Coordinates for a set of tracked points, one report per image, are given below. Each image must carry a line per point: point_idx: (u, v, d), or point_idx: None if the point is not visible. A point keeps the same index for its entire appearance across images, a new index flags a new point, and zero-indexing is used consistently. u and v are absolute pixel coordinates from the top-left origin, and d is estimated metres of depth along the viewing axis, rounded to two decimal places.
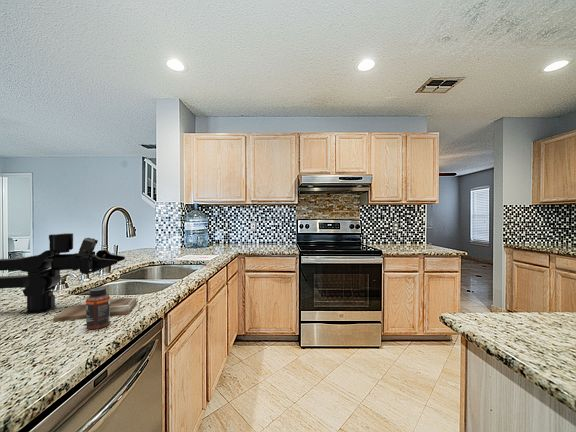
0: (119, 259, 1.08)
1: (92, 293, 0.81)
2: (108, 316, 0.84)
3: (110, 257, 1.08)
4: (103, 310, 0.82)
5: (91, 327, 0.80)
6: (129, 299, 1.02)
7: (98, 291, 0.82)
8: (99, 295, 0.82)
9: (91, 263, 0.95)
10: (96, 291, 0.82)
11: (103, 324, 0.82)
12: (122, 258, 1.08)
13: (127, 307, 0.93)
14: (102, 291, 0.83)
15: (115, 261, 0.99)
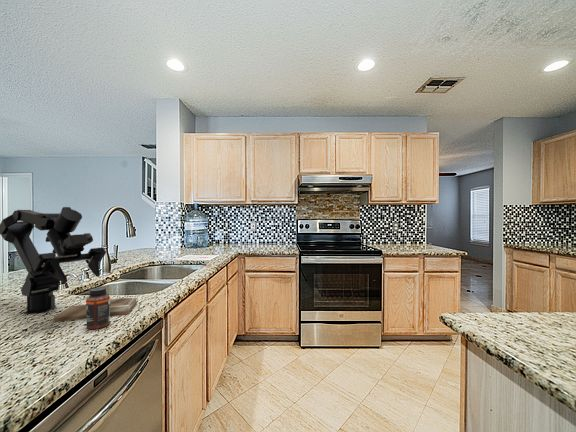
0: (94, 272, 0.91)
1: (92, 293, 0.81)
2: (108, 316, 0.84)
3: (93, 263, 0.92)
4: (103, 310, 0.82)
5: (91, 327, 0.80)
6: (129, 299, 1.02)
7: (98, 291, 0.82)
8: (99, 295, 0.82)
9: (43, 266, 0.81)
10: (96, 291, 0.82)
11: (103, 324, 0.82)
12: (96, 274, 0.91)
13: (127, 307, 0.93)
14: (102, 291, 0.83)
15: (64, 280, 0.82)
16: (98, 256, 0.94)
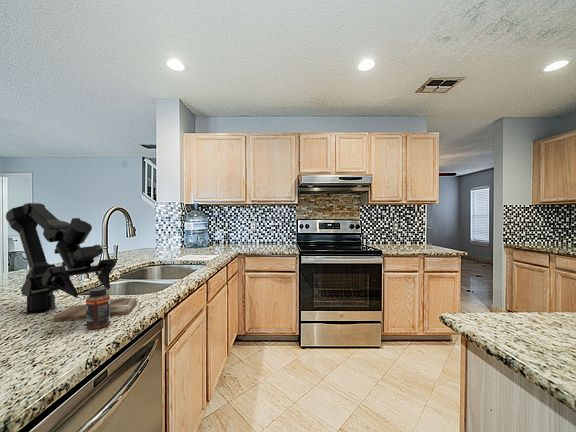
0: (105, 285, 0.89)
1: (92, 293, 0.81)
2: (108, 316, 0.84)
3: (103, 275, 0.90)
4: (103, 310, 0.82)
5: (91, 327, 0.80)
6: (129, 299, 1.02)
7: (98, 291, 0.82)
8: (99, 295, 0.82)
9: (53, 280, 0.79)
10: (96, 291, 0.82)
11: (103, 324, 0.82)
12: (107, 287, 0.89)
13: (127, 307, 0.93)
14: (102, 291, 0.83)
15: (75, 294, 0.80)
16: (108, 268, 0.91)
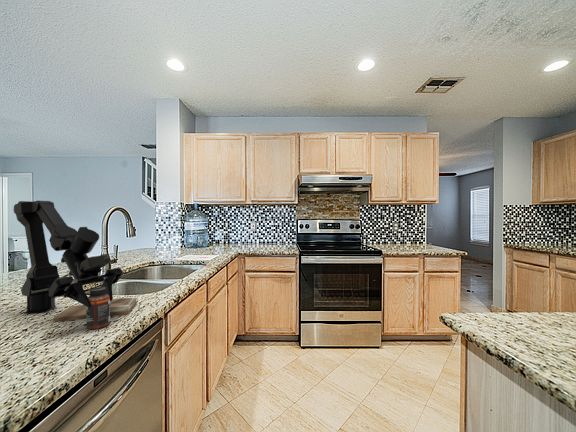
0: None
1: (92, 293, 0.81)
2: (108, 316, 0.84)
3: (105, 286, 0.87)
4: (103, 310, 0.82)
5: (91, 327, 0.80)
6: (129, 299, 1.02)
7: (98, 291, 0.82)
8: (99, 295, 0.82)
9: (67, 289, 0.79)
10: (96, 291, 0.82)
11: (103, 324, 0.82)
12: None
13: (127, 307, 0.93)
14: (102, 291, 0.83)
15: (88, 304, 0.80)
16: (111, 278, 0.88)
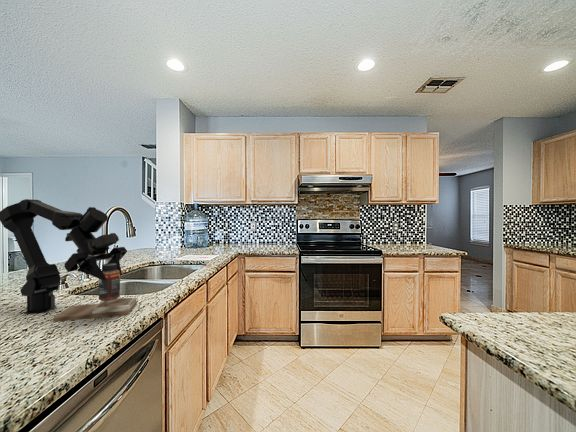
0: None
1: (105, 268, 0.88)
2: (119, 289, 0.91)
3: None
4: (116, 283, 0.89)
5: (105, 299, 0.87)
6: (129, 299, 1.02)
7: (111, 266, 0.89)
8: (112, 270, 0.89)
9: (82, 264, 0.85)
10: (109, 266, 0.89)
11: (116, 296, 0.89)
12: None
13: (127, 307, 0.93)
14: (114, 266, 0.90)
15: (103, 278, 0.87)
16: (118, 256, 0.95)
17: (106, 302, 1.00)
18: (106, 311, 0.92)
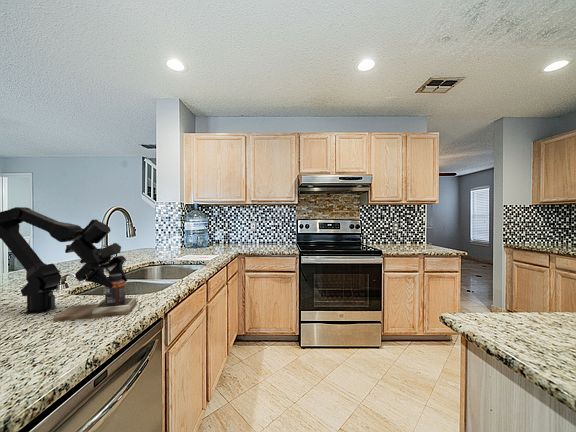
0: None
1: (113, 278, 0.95)
2: (124, 297, 0.98)
3: (117, 270, 1.01)
4: (122, 292, 0.97)
5: None
6: (129, 299, 1.02)
7: (118, 276, 0.96)
8: (119, 280, 0.96)
9: (91, 274, 0.90)
10: (116, 276, 0.96)
11: (122, 304, 0.97)
12: (124, 280, 1.01)
13: (127, 307, 0.93)
14: (120, 276, 0.97)
15: (111, 285, 0.93)
16: (121, 264, 1.02)
17: None
18: (106, 311, 0.92)
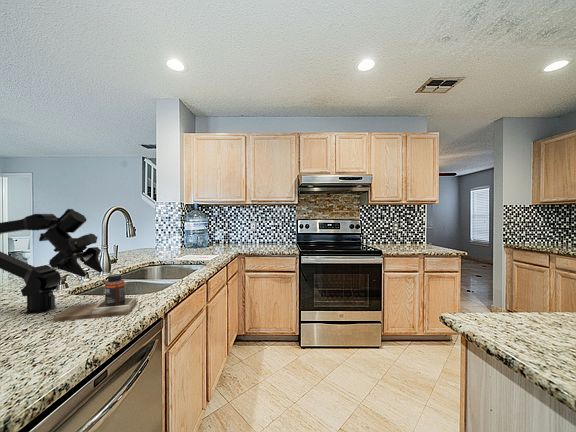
0: (96, 269, 1.02)
1: (112, 278, 0.95)
2: (124, 297, 0.98)
3: (93, 261, 1.03)
4: (122, 292, 0.97)
5: None
6: (129, 299, 1.02)
7: (117, 276, 0.96)
8: (119, 280, 0.96)
9: (64, 262, 0.90)
10: (116, 276, 0.96)
11: (122, 304, 0.97)
12: (99, 270, 1.02)
13: (127, 307, 0.93)
14: (120, 276, 0.97)
15: (83, 274, 0.93)
16: (97, 254, 1.04)
17: None
18: (106, 311, 0.92)
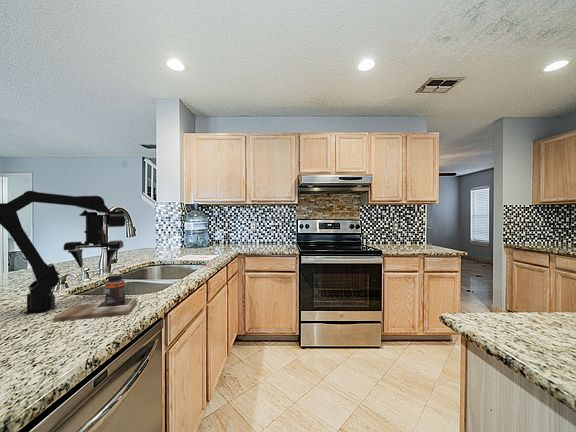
0: (81, 263, 1.07)
1: (112, 278, 0.95)
2: (124, 297, 0.98)
3: (80, 254, 1.08)
4: (122, 292, 0.97)
5: None
6: (129, 299, 1.02)
7: (118, 276, 0.96)
8: (119, 280, 0.96)
9: (118, 248, 1.11)
10: (116, 276, 0.96)
11: (122, 304, 0.97)
12: (81, 265, 1.08)
13: (127, 307, 0.93)
14: (120, 276, 0.97)
15: None
16: None
17: None
18: (106, 311, 0.92)
